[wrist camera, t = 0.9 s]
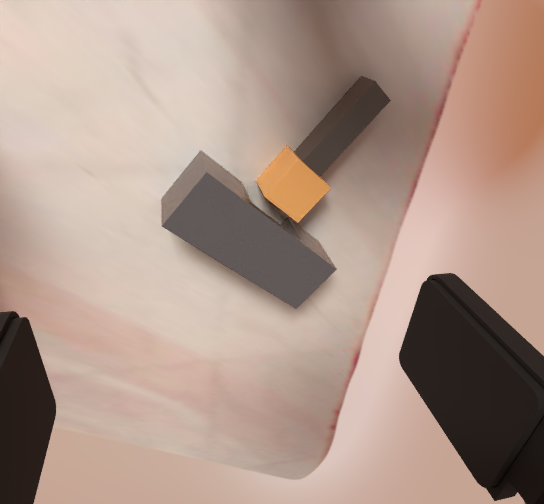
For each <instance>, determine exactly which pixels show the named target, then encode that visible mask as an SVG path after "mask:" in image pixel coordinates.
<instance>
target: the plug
mask: <svg viewBox="0 0 544 504" xmlns="http://www.w3.org/2000/svg"><path fill="white" fill-rule="evenodd" d="M390 101H391V100H390V99H389V98H388V97H387V95H386V94H385V93H384V92H383V90H382V89H381V88H380V87H379V86H378V84H377V83H376V82H375V81H373V80H370V79H368V78H365V77H362V76H361V77H360V78H359V79H358V80H357V82H356V83H355V84H354V85H353V86H352V87H351V88H350V89H349V91H348V92H347V93H346V94H345V95H344V96H343V97H342V99H341V100H340V101H339V102H338V103H337V104H336V105H335V106H334V108H333V109H332V110H331V111H330V112H329V113H328V114H327V115H326V117H325V118H324V119H323V120H322V121H321V122H320V123H319V124H318V126H317V127H316V128H315V129H314V130H313V131H312V132H311V133H310V135H309V136H308V137H307V138H306V139H305V140H304V141H303V142H302V144H301V145H300V146H299V147H298V148H297V149H296V150H295V152H294V151H292V150H291V149H290V148H289V147H288V146H286V147H285V148H284V149H283V151H282V152H281V153H280V154H279V155H278V156H277V157H276V159H275V160H274V161H273V162H272V163H271V164H270V165H269V167H268V168H267V169H266V170H265V171H264V172H263V173H262V175H261V176H260V177H259V178H258V179H257V180H256V182H257V183H258V185H259V187H260V189H261V191H262V193H263V195H264V197H265V198H267V199H268V200H269V201H270V202H272V203H273V204H274V205H276V206H277V207H278V208H279V209H281V210H282V211H283V212H285V213H286V214H287V215H288V216H290V217H291V218H292V219H294V220H295V221H296V222H297V223H298V222H299V221H300V220H301V219H302V218H303V217H304V216H305V215H306V214H307V213H308V212H309V211H310V210H311V209H312V207H313V206H314V205H315V204H316V203H317V202H318V201H319V200H320V199H321V198H322V197H323V196H324V195H325V194H326V193H327V192H328V191H329V189H330V188H331V187H330V186H329V185H328V184H327V183H326V182H325V181H324V180H323V179H322V178H321V175H322V174H323V173H324V172H325V171H326V170H327V169H328V167H329V166H330V165H331V164H332V163H333V162H334V161H335V160H336V159H337V158H338V157H339V156H340V155H341V153H342V152H343V151H344V150H345V149H346V148H347V147H348V146H349V145H350V144H351V143H352V142H353V140H354V139H355V138H356V137H357V136H358V135H359V134H360V133H361V132H362V131H363V130H364V129H365V128H366V126H367V125H368V124H369V123H370V122H371V121H372V120H373V119H374V118H375V117H376V116H377V115H378V114H379V112H380V111H381V110H382V109H383V108H384V107H385V106H386V105H387V104H388V103H389V102H390Z"/></svg>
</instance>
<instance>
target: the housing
mask: <svg viewBox="0 0 544 504" xmlns="http://www.w3.org/2000/svg"><path fill="white" fill-rule="evenodd" d="M162 227H164V228H165V229H167V230H169V231H170V232H172V233H174V234H175V235H177V236H178V237H180V238H182V239H183V240H185V241H187V242H188V243H190V244H191V245H193V246H195V247H196V248H198V249H200V250H201V251H203V252H204V253H206V254H208V255H209V256H211V257H213V258H214V259H216V260H217V261H219V262H221V263H222V264H224V265H226V266H227V267H229V268H231V269H232V270H234V271H235V272H237V273H239V274H240V275H242V276H244V277H245V278H247V279H248V280H250V281H252V282H253V283H255V284H257V285H258V286H260V287H261V288H263V289H265V290H266V291H268V292H270V293H271V294H273V295H274V296H276V297H278V298H279V299H281V300H283V301H284V302H286V303H287V304H289V305H291V306H292V307H294V308H298V307H299V306H300V305H301V304H302V303H303V302H304V301H305V300H306V299H307V298H308V297H309V296H310V295H311V294H312V293H313V292H314V291H315V290H316V289H317V288H318V287H319V286H320V285H321V284H322V283H323V282H324V281H325V280H326V279H327V278H328V277H329V276H330V275H331V274H332V273H333V272H334V271H335V270H336V267H335V266H334V264H333V263H332V261H331V260H330V258H329V257H328V255H327V254H326V252H325V251H324V249H323V247H322V246H321V244H320V243H319V241H317V240H316V239H315V238H313V237H312V236H311V235H309V234H308V233H307V232H306V231H304V230H303V229H302V228H300V227H299V226H298V225H297V224H295V223H294V222H293V221H291V220H290V219H289V218H287V219H286V220H285V221H284V222H283V223H282V224H281V225H280V224H279V223H278V222H276V221H275V220H274V219H272V218H271V217H270V216H268V215H267V214H266V213H264V212H263V211H262V210H260V209H259V208H258V207H256V206H255V205H254V204H252V203H251V202H250V199H249V197H248V195H247V193H246V190H245V188H244V186H243V184H242V182H241V181H240V180H238V179H237V178H236V177H234V176H233V175H232V174H231V173H229V172H228V171H227V170H225V169H224V168H223V167H222V166H220V165H219V164H218V163H216V162H215V161H214V160H212V159H211V158H210V157H209V156H207V155H206V154H205V153H203V152H202V151H200V152H199V153H198V154H197V156H196V157H195V158H194V159H193V161H192V162H191V163H190V164H189V166H188V167H187V168H186V169H185V170H184V172H183V173H182V174H181V175H180V177H179V178H178V179H177V180H176V182H175V183H174V184H173V185H172V187H171V188H170V189H169V190H168V191H167V193H166V194H165V195H164V196H163V198H162Z"/></svg>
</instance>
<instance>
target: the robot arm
mask: <svg viewBox="0 0 544 504" xmlns="http://www.w3.org/2000/svg"><path fill="white" fill-rule="evenodd" d="M399 361H400V364H401V367H402V369H403V370H404V372H405V373H406V375H407V376H408V378H409V379H410V381H411V382H412V384H413V385H414V387H415V388H416V390H417V391H418V393H419V394H420V396H421V397H422V399H423V400H424V402H425V404H426V405H427V407H428V408H429V409H430V411H431V413H432V414H433V416H434V417H435V419H436V420H437V422H438V423H439V425H440V426H441V428H442V429H443V431H444V433H445V434H446V436H447V437H448V439H449V440H450V442H451V443H452V445H453V446H454V448H455V449H456V451H457V452H458V454H459V455H460V456H461V458H462V460H463V461H464V463H465V465H466V466H467V468H468V469H469V470H470V472H471V473H472V475H473V477H474V478H475V479H476V481H477V482H478V483H479V484H480V485H481V486H482V487H484V488H486V489H487V490H488V492H489V493H490V495H491V496H492V498H493V499H494V501H497V500H501V499H505V498H509V497H513V496H515V495H516V493H517V492H518V493H519V494H520V496H521V497H522V498H523V500H524V502H525V504H544V356H543V355H542V354H541V353H540V352H539V351H537V350H536V349H535V348H534V347H533V346H532V345H531V344H530V343H529V342H528V341H527V340H526V339H525V338H523V337H522V336H521V335H520V334H519V333H518V332H517V331H516V330H515V329H514V328H512V326H510V325H509V324H508V323H507V322H506V321H505V320H504V319H503V318H502V317H501V316H500V315H499V314H498V313H496V311H494V310H493V309H492V308H491V307H490V306H489V305H488V304H487V303H486V302H485V301H484V300H483V299H481V298H480V297H479V296H478V295H477V294H476V293H475V292H474V291H473V290H472V289H471V288H470V287H469V286H467V285H466V284H465V283H464V282H463V281H462V280H461V279H460V278H459V277H458V276H456V275H455V274H452V273H447V274H435V275H431V276H429V277H428V278H427V281H425V282H424V283H423V284H422V286H421V289H420V292H419V295H418V298H417V301H416V304H415V307H414V310H413V313H412V317H411V319H410V323H409V326H408V329H407V332H406V335H405V338H404V341H403V344H402V347H401V351H400V353H399ZM55 416H56V403H55V399H54V396H53V392H52V389H51V386H50V383H49V380H48V377H47V374H46V371H45V368H44V365H43V362H42V359H41V356H40V353H39V350H38V347H37V344H36V340H35V337H34V334H33V331H32V328H31V325H30V322H29V320H28V319H27V318H26V317H22V318H20V317H19V315H18V314H17V313H16V312H14V311H11V312H0V504H33V503H34V499H35V495H36V491H37V487H38V483H39V480H40V475H41V472H42V468H43V464H44V459H45V456H46V451H47V448H48V444H49V440H50V436H51V432H52V428H53V424H54V420H55Z"/></svg>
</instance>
